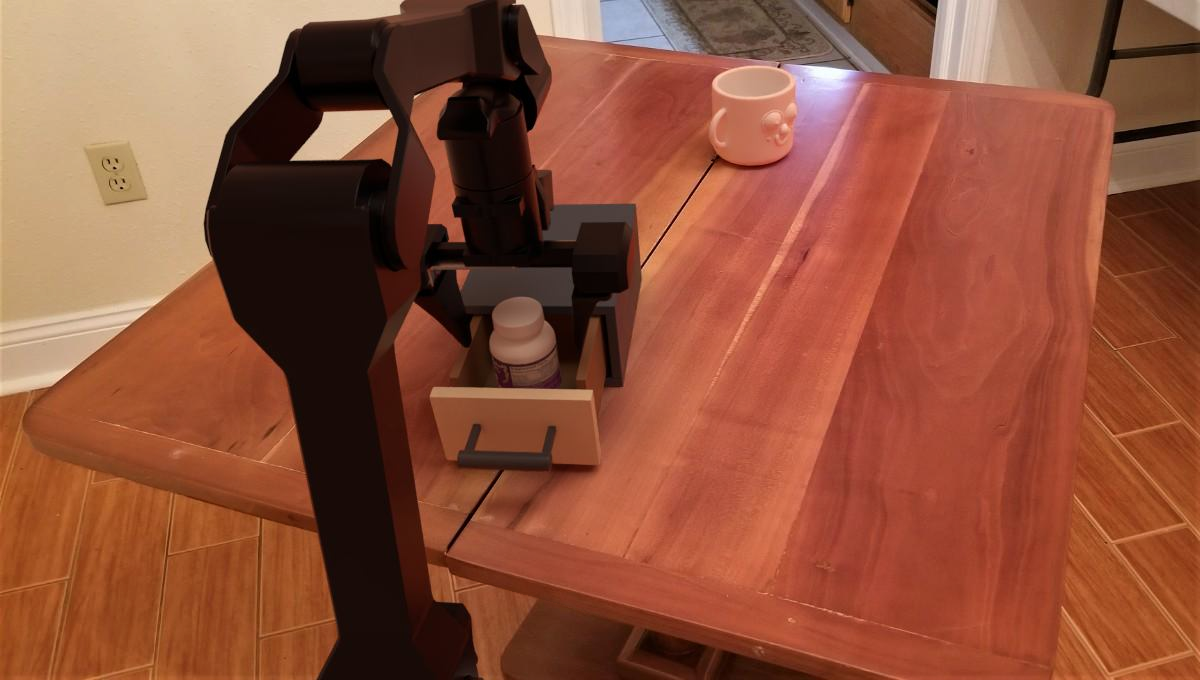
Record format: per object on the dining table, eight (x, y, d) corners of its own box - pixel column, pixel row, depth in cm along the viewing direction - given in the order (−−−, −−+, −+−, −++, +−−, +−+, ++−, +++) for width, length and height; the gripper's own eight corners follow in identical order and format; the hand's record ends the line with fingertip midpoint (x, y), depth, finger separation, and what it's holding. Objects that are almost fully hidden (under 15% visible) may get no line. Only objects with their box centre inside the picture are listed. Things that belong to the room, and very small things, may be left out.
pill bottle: (497, 389, 81) (478, 298, 75) (557, 375, 81) (543, 284, 75) (507, 430, 76) (488, 338, 71) (571, 415, 77) (556, 322, 71)
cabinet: (623, 386, 83) (614, 306, 77) (472, 383, 85) (454, 305, 79) (641, 278, 96) (635, 203, 90) (510, 278, 98) (497, 205, 92)
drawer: (591, 506, 71) (582, 440, 66) (431, 500, 73) (412, 435, 68) (622, 342, 86) (616, 280, 82) (489, 341, 88) (476, 280, 84)
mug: (743, 188, 108) (744, 114, 103) (683, 160, 115) (680, 90, 109) (813, 151, 114) (817, 80, 108) (751, 127, 120) (752, 58, 115)
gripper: (636, 117, 70) (648, 287, 80) (399, 124, 73) (439, 287, 83) (618, 191, 62) (635, 371, 71) (351, 195, 65) (401, 368, 74)
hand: (523, 345), depth 75 cm, fingers open, 9 cm apart
